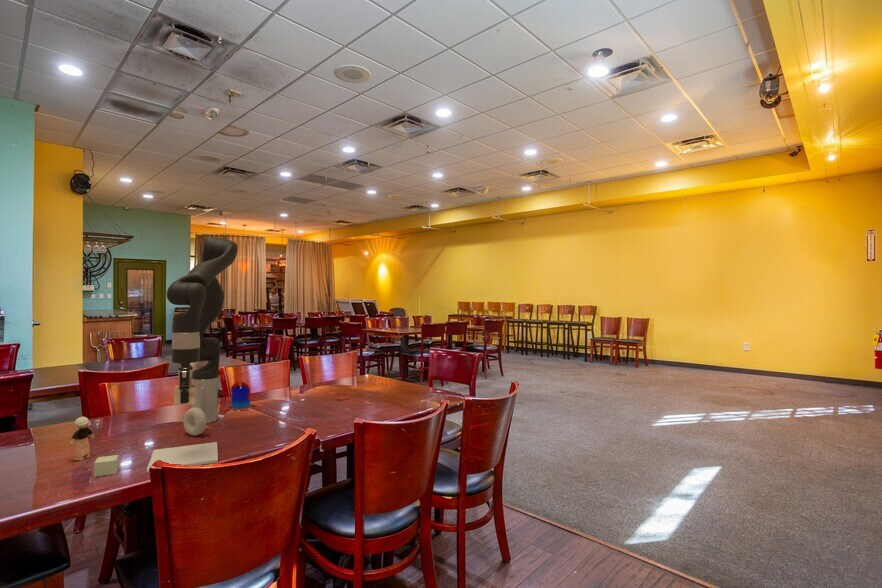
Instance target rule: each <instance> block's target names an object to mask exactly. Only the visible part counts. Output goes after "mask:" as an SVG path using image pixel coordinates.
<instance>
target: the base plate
mask: <svg viewBox="0 0 882 588" xmlns="http://www.w3.org/2000/svg"><path fill="white" fill-rule="evenodd" d="M218 452H219V451H218V441H215V442H213V441H212V442H205V443H199V444H197V443H196V444H191V445H183V446H172V447H165V448H159V449H153V451H152V454H151V456H150V459H149V462H148V465H147V468H146V473H150V472H149V468H150V466H151V465H152V464H153V463H154V462H155V461H157V460H161V461H163V462H166V463H169V464H181V465H196V466H201V465H202V464H203V465H210V464H216V463H218V462H219V453H218Z"/></svg>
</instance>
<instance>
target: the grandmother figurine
mask: <svg viewBox="0 0 882 588" xmlns="http://www.w3.org/2000/svg"><path fill="white" fill-rule="evenodd" d="M89 423H90V419H89V418H88V417H86V416H80V417H78V418H76V420H75V426H76V428H77V429H78V430H75V431H74V433H73V434H72V436H71V438H70V442H69V445H70V446H73V445H74V450H73V457H74V458H73V461H74V460H80V461H83V460H85V459H87V458H91V454H90V451H91V450H90V442H89V439H88V438H89V437H90V439H95V437H96V436H95V434H94V432H93V430H91V429H90V428H89V427H88V426H87V425H89Z"/></svg>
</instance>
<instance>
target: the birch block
mask: <svg viewBox="0 0 882 588" xmlns="http://www.w3.org/2000/svg"><path fill="white" fill-rule="evenodd" d="M182 386H187V385H182ZM189 387H190V390H189V402H188V403H185V404H181V403H180V392H181V391H180V390H179V388H180V385H175V386H174V388H173V407H177V406H189V405H192V404H195V401H196V385H192V384H191V385H189Z"/></svg>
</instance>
